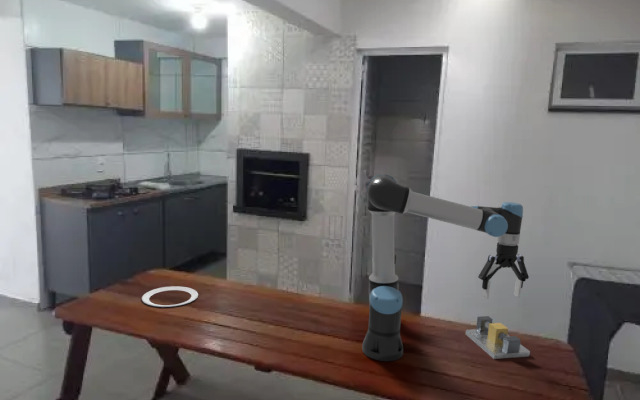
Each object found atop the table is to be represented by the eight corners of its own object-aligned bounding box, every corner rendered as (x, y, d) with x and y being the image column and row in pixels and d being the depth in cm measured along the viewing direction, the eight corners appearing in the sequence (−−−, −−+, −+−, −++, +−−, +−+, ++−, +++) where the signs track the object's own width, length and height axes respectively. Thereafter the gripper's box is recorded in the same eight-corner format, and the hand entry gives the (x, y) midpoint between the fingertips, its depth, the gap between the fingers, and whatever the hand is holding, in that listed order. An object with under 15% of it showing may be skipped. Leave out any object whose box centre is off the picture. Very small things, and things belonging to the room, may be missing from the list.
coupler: (484, 335, 182) (486, 321, 181) (495, 334, 183) (497, 320, 182) (497, 346, 174) (499, 331, 173) (509, 345, 175) (511, 330, 174)
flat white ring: (189, 310, 199) (189, 307, 199) (132, 307, 199) (132, 304, 199) (204, 289, 224) (204, 287, 223) (153, 287, 224) (153, 284, 224)
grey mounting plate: (530, 356, 170) (532, 338, 169) (494, 359, 167) (496, 341, 166) (497, 331, 191) (499, 315, 189) (464, 333, 187) (466, 317, 186)
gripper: (484, 246, 166) (477, 301, 169) (543, 245, 171) (535, 299, 175) (472, 240, 173) (467, 293, 176) (530, 240, 178) (523, 291, 182)
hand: (501, 296), depth 176 cm, fingers open, 13 cm apart
